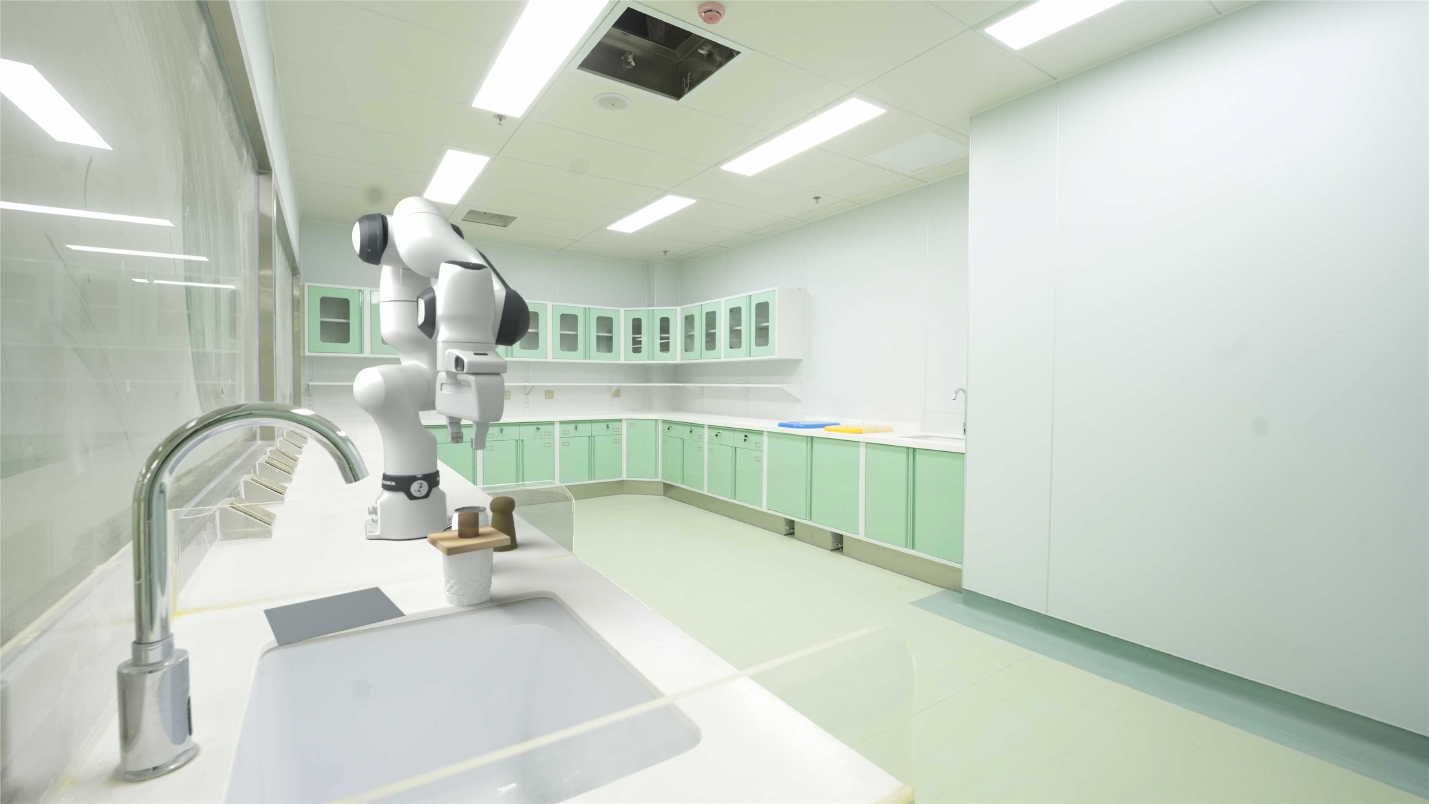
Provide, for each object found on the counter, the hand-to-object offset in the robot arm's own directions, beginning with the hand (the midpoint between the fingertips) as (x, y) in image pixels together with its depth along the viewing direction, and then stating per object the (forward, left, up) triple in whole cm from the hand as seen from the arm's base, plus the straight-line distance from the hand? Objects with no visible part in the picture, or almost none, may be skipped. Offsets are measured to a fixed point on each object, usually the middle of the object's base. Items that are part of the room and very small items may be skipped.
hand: (467, 446), depth 101 cm
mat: (-7, -18, -26) cm, 32 cm away
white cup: (0, 0, -26) cm, 26 cm away
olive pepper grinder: (-26, +17, -26) cm, 41 cm away
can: (-15, +6, -26) cm, 31 cm away
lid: (0, 0, -16) cm, 16 cm away
